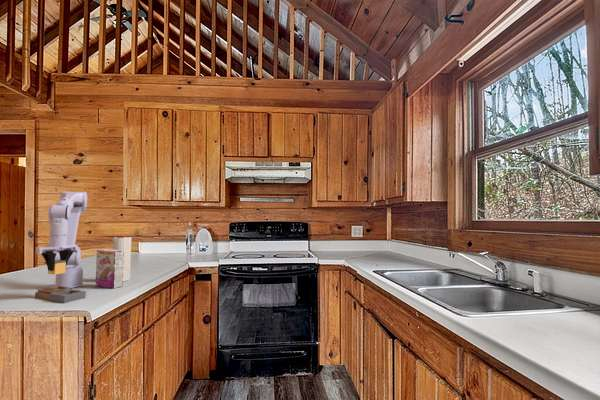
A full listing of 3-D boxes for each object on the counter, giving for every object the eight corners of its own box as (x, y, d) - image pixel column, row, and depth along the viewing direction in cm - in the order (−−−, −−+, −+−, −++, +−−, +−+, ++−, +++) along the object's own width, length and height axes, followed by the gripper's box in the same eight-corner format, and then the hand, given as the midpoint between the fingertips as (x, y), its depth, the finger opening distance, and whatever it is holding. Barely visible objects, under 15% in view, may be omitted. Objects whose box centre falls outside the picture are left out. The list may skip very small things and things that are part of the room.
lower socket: (71, 295, 129) (71, 289, 129) (85, 297, 127) (85, 291, 127) (49, 300, 122) (50, 293, 122) (64, 303, 119) (64, 295, 119)
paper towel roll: (109, 283, 153) (111, 237, 154) (113, 280, 159) (115, 236, 159) (126, 282, 154) (128, 237, 155) (129, 279, 160) (131, 236, 161)
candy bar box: (94, 286, 145) (96, 249, 146) (104, 284, 150) (106, 248, 150) (113, 289, 141) (115, 251, 142) (123, 286, 146) (124, 250, 147)
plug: (58, 272, 131) (59, 259, 131) (65, 272, 130) (65, 260, 130) (47, 273, 127) (48, 260, 127) (54, 274, 126) (55, 261, 126)
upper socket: (59, 292, 134) (59, 285, 134) (74, 294, 131) (74, 287, 131) (34, 297, 126) (35, 290, 126) (50, 300, 123) (50, 292, 123)
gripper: (45, 236, 121) (43, 273, 120) (83, 234, 134) (81, 267, 134) (33, 235, 123) (31, 271, 123) (71, 233, 137) (70, 266, 136)
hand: (56, 269), depth 128 cm, fingers closed on plug, 4 cm apart
